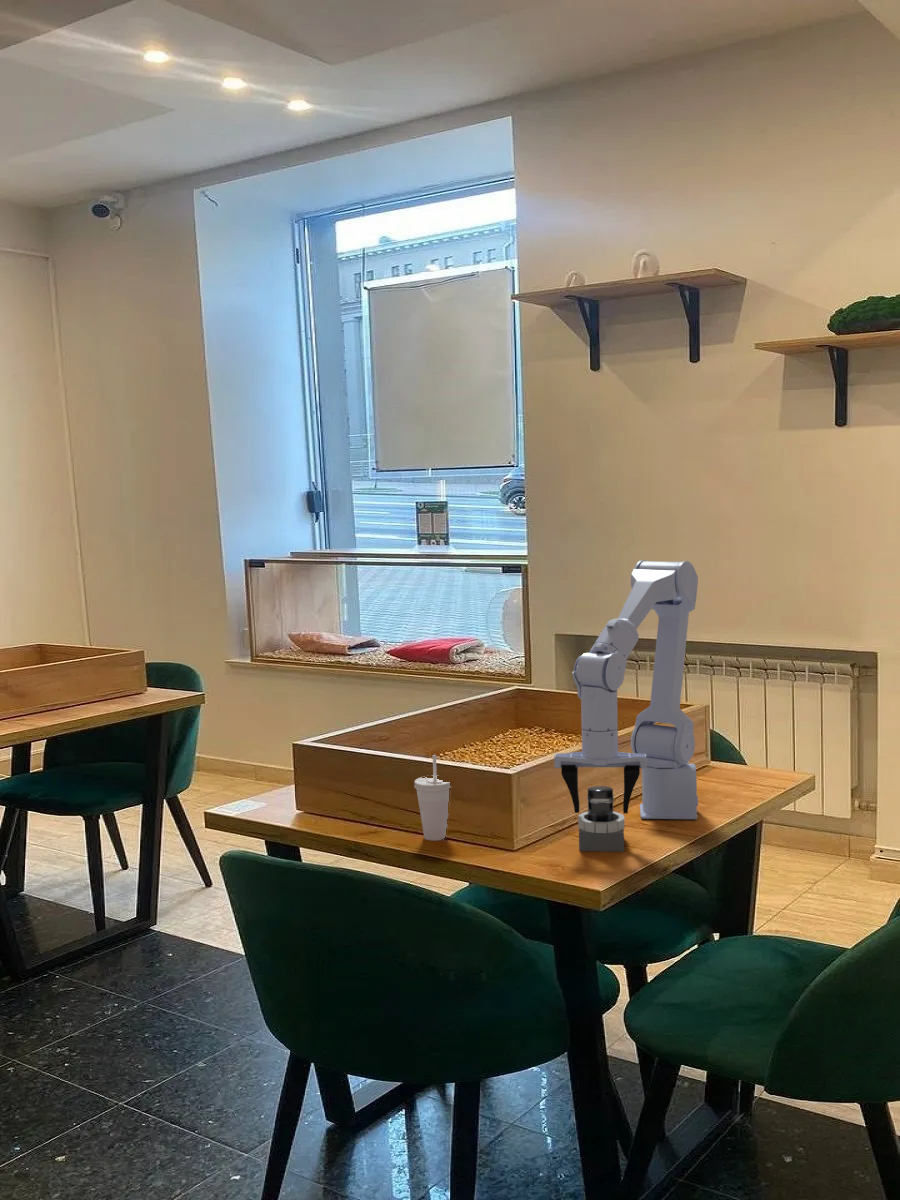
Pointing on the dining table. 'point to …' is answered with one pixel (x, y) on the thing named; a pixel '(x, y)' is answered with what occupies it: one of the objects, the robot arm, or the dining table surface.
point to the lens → (600, 804)
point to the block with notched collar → (601, 834)
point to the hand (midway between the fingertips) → (601, 811)
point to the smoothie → (433, 805)
